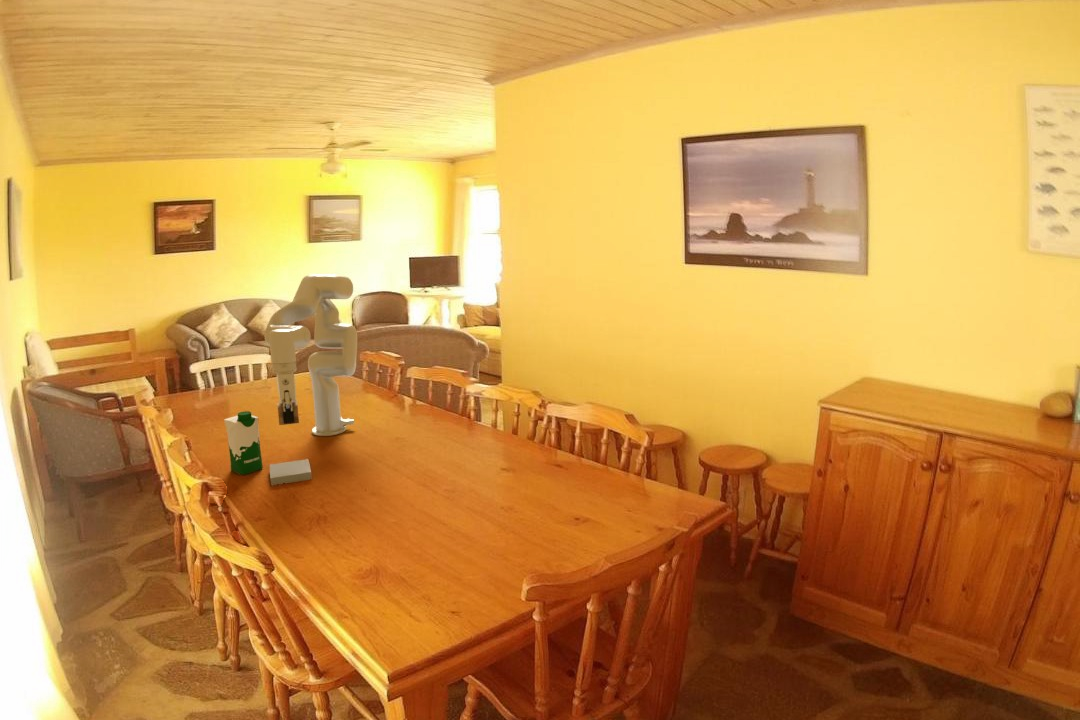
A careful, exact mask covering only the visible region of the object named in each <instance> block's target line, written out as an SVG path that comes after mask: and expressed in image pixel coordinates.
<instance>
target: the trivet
mask: <svg viewBox="0 0 1080 720" xmlns="http://www.w3.org/2000/svg"><path fill="white" fill-rule="evenodd" d="M309 461H310V460H309V459H308V458H306V459H300V460H293V461H292V460H291V461H287V462H286V461H285V462H278V463H272V464H269V478H270V486H271V485H272V486H277V484H279V485H284V484H283V483H285V484H290V483H291V484H292V483H296V482H304V481H309V480H310V479H311V480H313V479H312V478H313V477H312V469H311V466H310V462H309Z"/></svg>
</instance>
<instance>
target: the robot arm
mask: <svg viewBox="0 0 1080 720" xmlns="http://www.w3.org/2000/svg"><path fill="white" fill-rule="evenodd" d="M353 292H354V284H353V281H352V280H351V279H350V278H349V277H347V276H342V275H338V274H337V275H336V274H309V275H305V276H304V277H303V278H302V279H301V281H300V283H299V285H298V288H297V290H296V292H295V295H294V297H293V300H292V301H290V302H289V303H287V304H285V305H284V306H283V307H281V308H280V309H278V310H277V311H275V312H274V313H273V314H272V315H271V317H270V318H269V321H268V323H267V325H266V327H265V331H264V342H265V343H266V345H267V346H268V347H269V349H270V351H269V352H270V364H271V373H272V374H274V375H275V374H276V383H277V390H278V391H277V392H278V397H279V401H280V403H283V409H284V412H283V419H284V424H286V425H288V424H287V423H294V411H293V409H292V401H294V402H296V401H297V394H296V393H297V392H296V389H297V388H296V380H295V373H296V372H297V371H298V366H297V365H298V364H297V355H296V349H301V348H304V347H306V346H308V344H310V341H311V337H312V336H311V331H310V330H309V328H308V327H307V326H304V325H296V324H295V325H293V323H296V322H301V321H304V320H306V319H309V318H311V317H312V316H315V321H314V322H315V323H314V332H313V333H314V334H313V335H314V337H313V339H314V341H313V342H314V345H315V346H316V347H318V348H320V349H331V350H332V349H335V350H336V349H342V351H325V350H323V351H316V352H313V353H311V354H310V355H309V356H308V359H307V367H308V371H309V376H310V379H311V380H310V381H311V387H312V396H313V407H314V408H313V409H314V420H315V426H314V427H313V428H312V429H311V434H312V435H315V436H319V437H331V436H336V435H340V434H343V433H344V432H346V430H347V427H346V426H351V425H355V421H354V419H350V418H347V419H344V418H343V417H342V414H341V413H342V411H341V402H340V401H341V399H340V388H339V384H338V382H337V381H336V379H335V378H337V377H339V378H340V377H351V376H353V375H354V374H355V372H356V368H357V356H358V354H357V353H358V331H357V329H356V327H355V326H354V325H353V324H350V323H339V319H340V312H339V309H338V308H337V306H336V304H335V303H334V302H333V301H332V300H348V299H350V298H351V297H352V296H353ZM291 324H292V325H291ZM334 377H335V378H334ZM285 404H286V405H285Z"/></svg>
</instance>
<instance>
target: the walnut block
mask: <svg viewBox="0 0 1080 720" xmlns="http://www.w3.org/2000/svg"><path fill="white" fill-rule="evenodd" d="M285 405H286V404H285ZM292 409H293V411H294V423H287V424H284V419H283V412H284V409H283V403H281V402H277V415H278V416H277V417H278V425H279V426H285V425H293V424H299V423H300V419H299V408H298V401H297V400H296V402H294V401H292Z"/></svg>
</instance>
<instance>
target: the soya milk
mask: <svg viewBox="0 0 1080 720" xmlns="http://www.w3.org/2000/svg"><path fill="white" fill-rule="evenodd" d="M259 419H260V418H259V417H258V416H255V415H252V412H251V411H246V410H244V411H240V412H238V413H237V415H235V416H231V417H228V418H225V419H223V422H224V425H225V429H226V434H227V442H228V450H229V458H230V459H229V460H230V471H232V472H234V473H236V474H238V473H239V474H238V475H241V476H246V475H248V473H249V474H251V472H252V473H253V472H254V471H255V472H257V471H260V470H263V469H264V468H263V458H262V453H261V443H260V442H261V441H260V433H259V423H260V422H259V421H260V420H259ZM262 468H263V469H262ZM259 469H260V470H259ZM255 472H254V473H255Z"/></svg>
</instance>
